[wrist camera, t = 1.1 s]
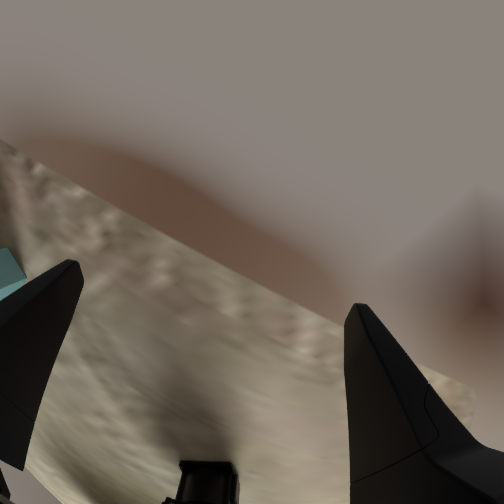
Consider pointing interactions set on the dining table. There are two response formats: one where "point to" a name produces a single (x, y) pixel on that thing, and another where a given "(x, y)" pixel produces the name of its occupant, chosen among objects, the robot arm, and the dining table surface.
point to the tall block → (9, 274)
